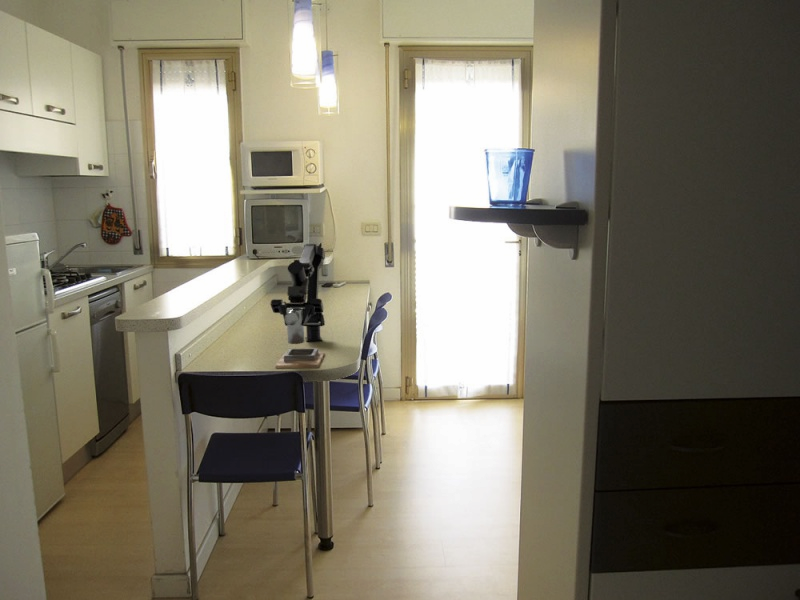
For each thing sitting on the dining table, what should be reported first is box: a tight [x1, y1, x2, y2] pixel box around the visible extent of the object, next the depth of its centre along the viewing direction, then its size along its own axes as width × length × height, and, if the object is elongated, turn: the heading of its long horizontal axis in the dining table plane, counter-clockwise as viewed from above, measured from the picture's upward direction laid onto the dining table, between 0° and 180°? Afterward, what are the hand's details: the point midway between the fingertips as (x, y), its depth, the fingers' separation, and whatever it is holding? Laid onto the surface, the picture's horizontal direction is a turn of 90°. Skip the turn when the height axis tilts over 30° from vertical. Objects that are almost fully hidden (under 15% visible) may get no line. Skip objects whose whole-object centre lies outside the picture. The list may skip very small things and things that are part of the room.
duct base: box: [275, 347, 325, 369], centre depth 233 cm, size 18×15×3 cm
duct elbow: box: [283, 308, 305, 345], centre depth 230 cm, size 10×6×12 cm, turn 177°
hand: (294, 325), depth 231 cm, fingers closed on duct elbow, 6 cm apart
